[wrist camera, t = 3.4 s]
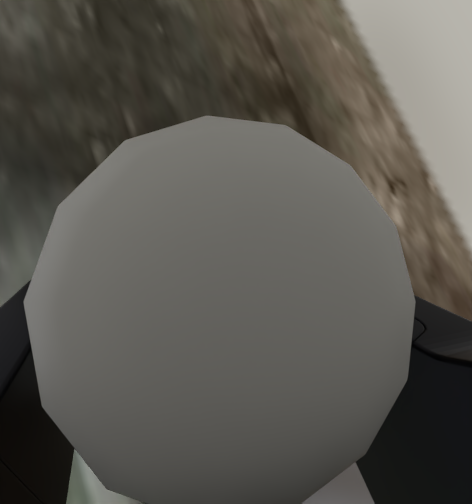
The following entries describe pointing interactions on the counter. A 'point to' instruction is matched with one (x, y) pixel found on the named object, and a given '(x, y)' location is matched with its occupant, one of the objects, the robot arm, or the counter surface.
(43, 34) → the counter surface
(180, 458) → the salt shaker
